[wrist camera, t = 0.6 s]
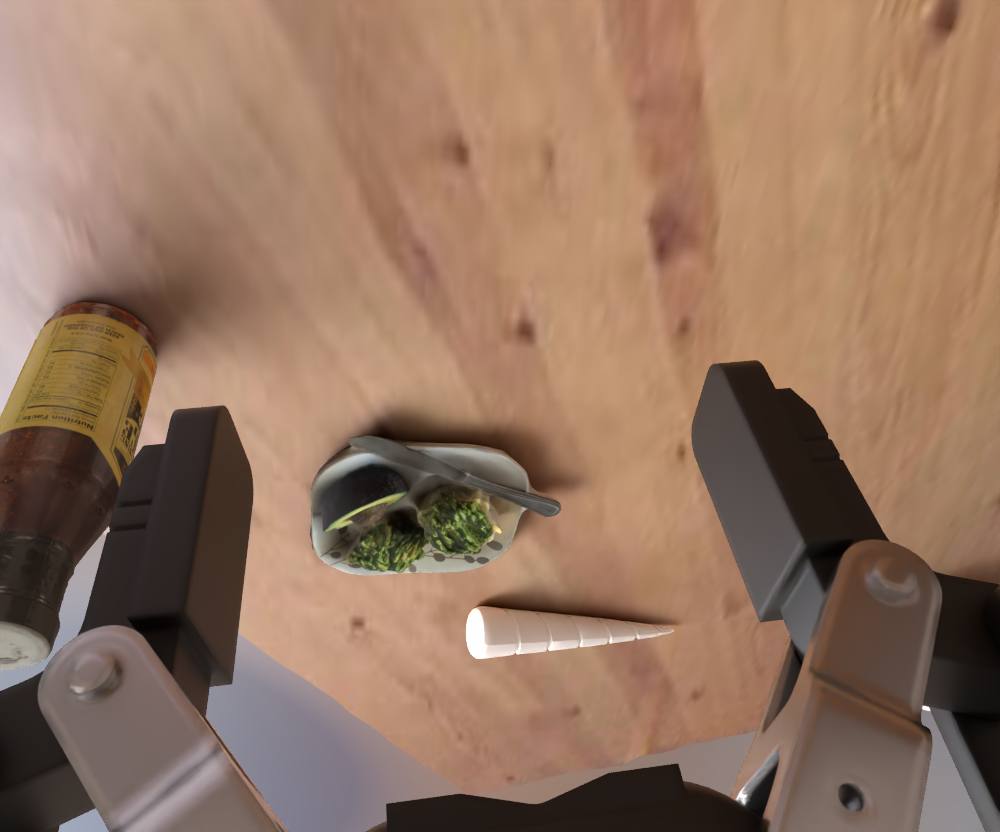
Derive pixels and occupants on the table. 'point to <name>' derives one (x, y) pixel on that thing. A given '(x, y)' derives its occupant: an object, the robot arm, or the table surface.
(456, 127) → the table surface
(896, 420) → the table surface
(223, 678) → the robot arm
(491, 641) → the unicorn horn
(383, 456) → the salad plate
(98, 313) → the sauce bottle
